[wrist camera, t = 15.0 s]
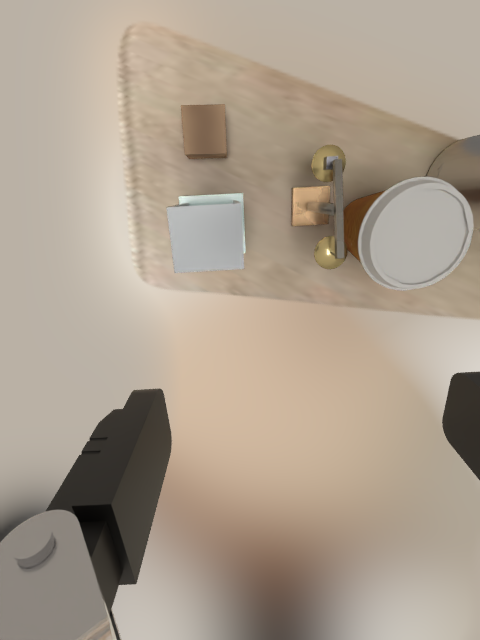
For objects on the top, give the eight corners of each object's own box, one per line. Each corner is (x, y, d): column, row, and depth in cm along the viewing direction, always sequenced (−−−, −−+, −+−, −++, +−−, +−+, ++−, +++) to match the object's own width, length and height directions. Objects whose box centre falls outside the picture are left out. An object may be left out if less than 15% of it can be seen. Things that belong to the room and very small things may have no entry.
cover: (236, 200, 36) (241, 203, 24) (238, 246, 37) (244, 268, 26) (185, 203, 35) (166, 207, 24) (190, 249, 37) (174, 273, 26)
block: (224, 114, 33) (224, 104, 30) (226, 157, 35) (226, 153, 31) (185, 115, 33) (180, 105, 30) (189, 158, 35) (184, 154, 31)
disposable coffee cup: (393, 268, 40) (458, 297, 29) (317, 263, 39) (353, 290, 28) (413, 185, 36) (497, 181, 25) (331, 177, 36) (378, 170, 25)
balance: (329, 153, 35) (375, 134, 24) (324, 251, 39) (362, 274, 28) (292, 154, 35) (321, 137, 24) (291, 253, 39) (316, 277, 28)
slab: (242, 193, 36) (242, 192, 35) (245, 251, 38) (245, 252, 38) (179, 196, 36) (178, 196, 35) (186, 255, 38) (185, 256, 38)
